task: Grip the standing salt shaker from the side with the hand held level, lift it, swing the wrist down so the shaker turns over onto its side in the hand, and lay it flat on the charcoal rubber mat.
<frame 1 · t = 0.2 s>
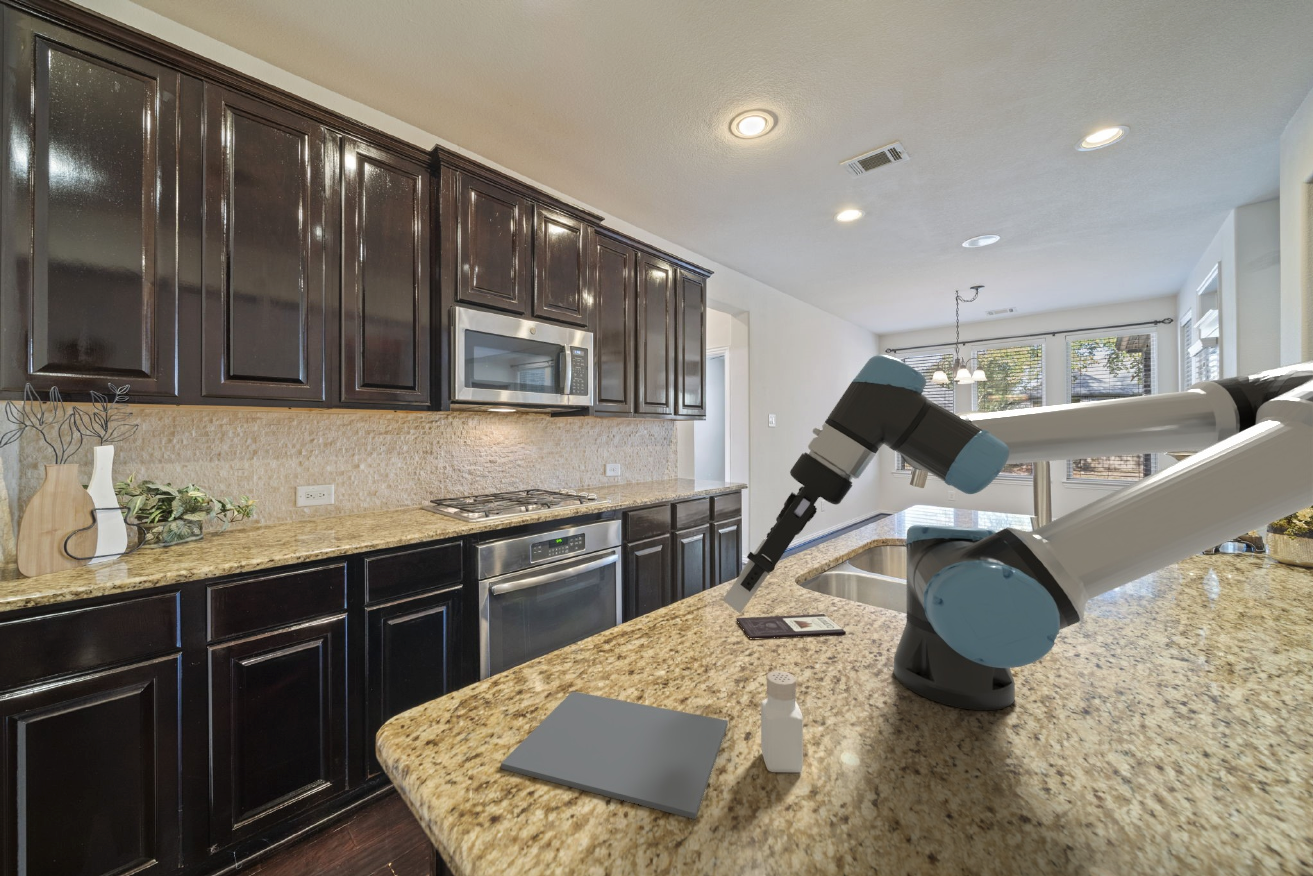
hand: (740, 590, 68), 15 cm above the countertop, tool tilted 35°, fingers open, 13 cm apart
chocolate bar: (789, 630, 93), on the countertop
salt shaker: (781, 764, 55), on the countertop
rubber mat: (622, 745, 58), on the countertop
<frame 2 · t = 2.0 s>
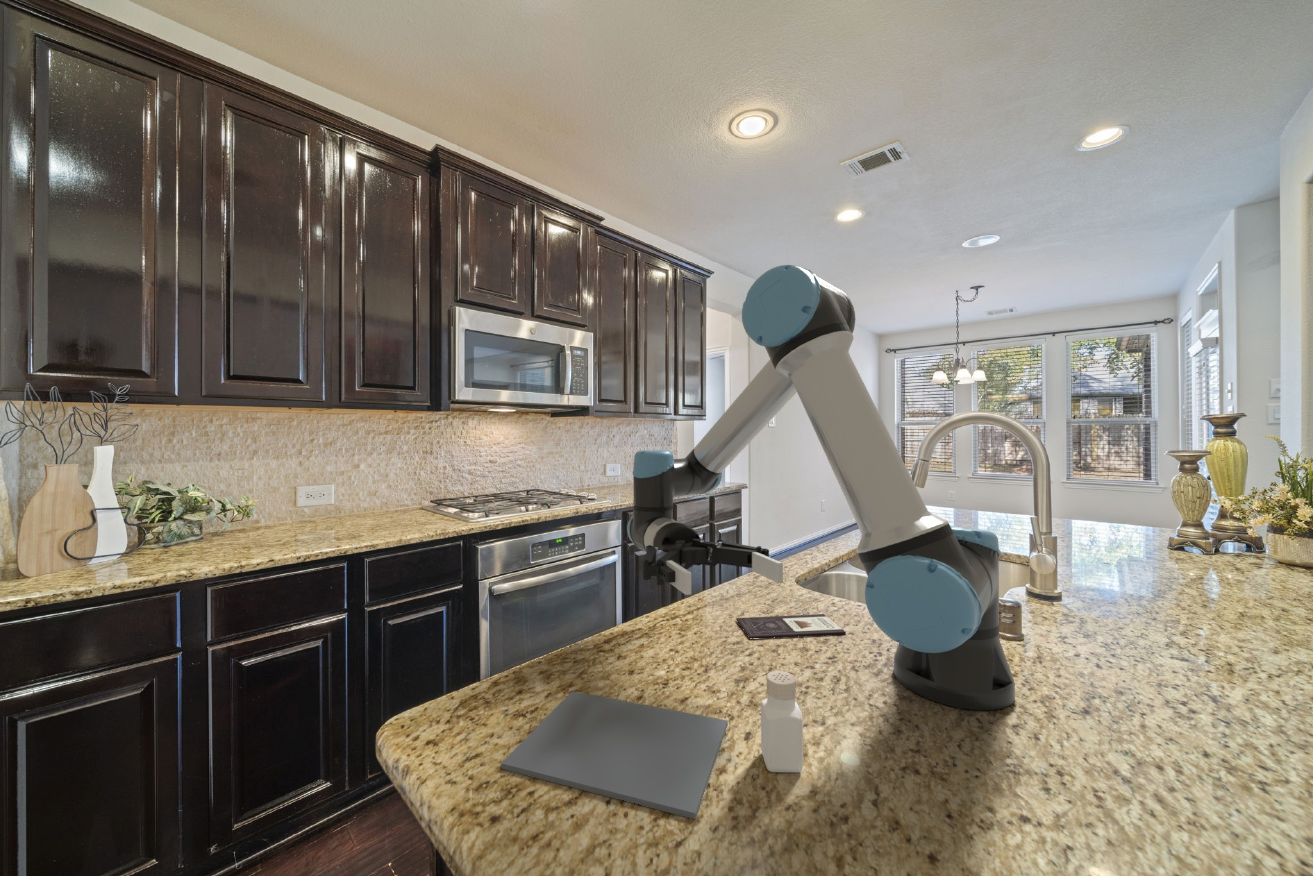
hand: (736, 578, 64), 18 cm above the countertop, tool horizontal, fingers open, 13 cm apart
nothing on the countertop moved.
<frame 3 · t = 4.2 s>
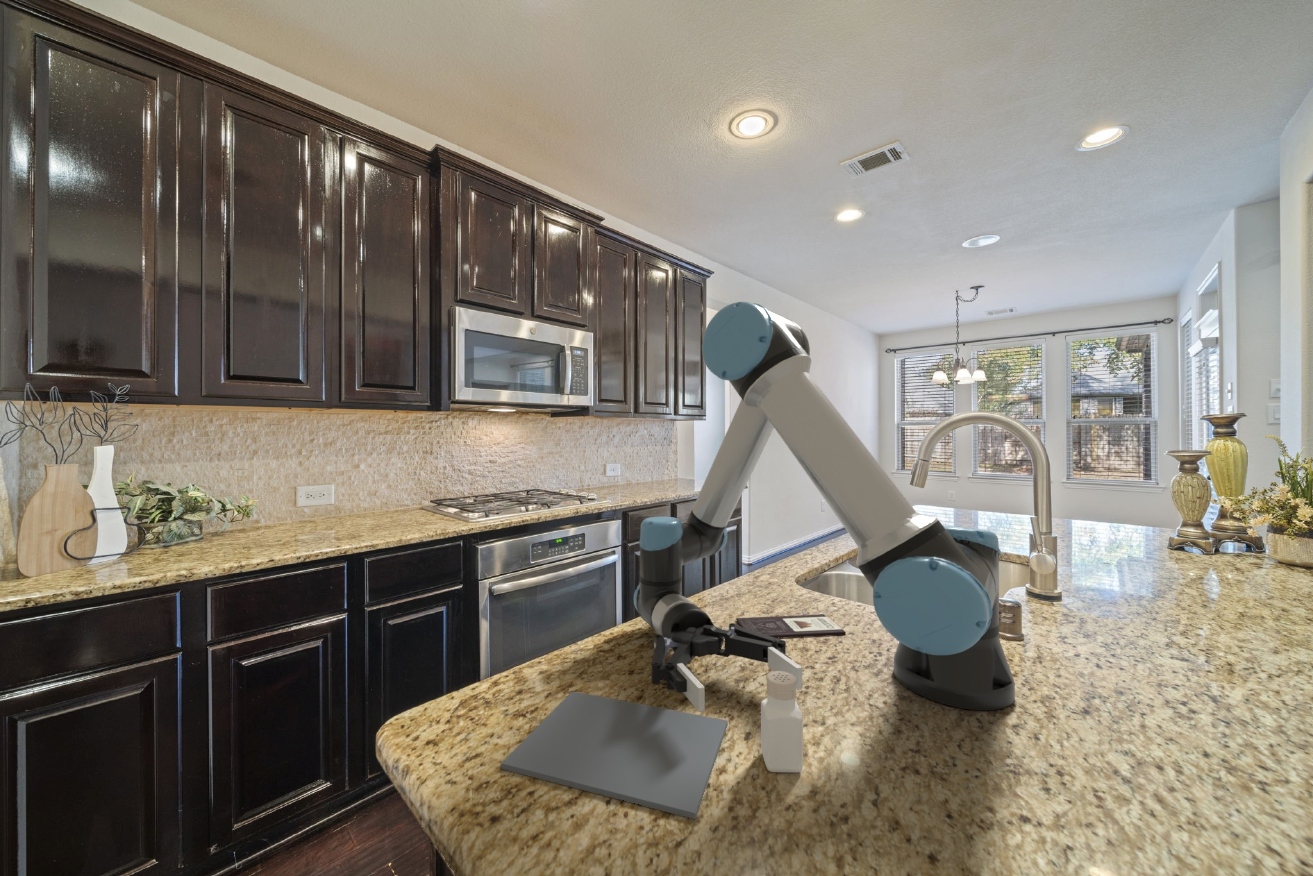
hand: (752, 688, 59), 6 cm above the countertop, tool horizontal, fingers open, 13 cm apart
nothing on the countertop moved.
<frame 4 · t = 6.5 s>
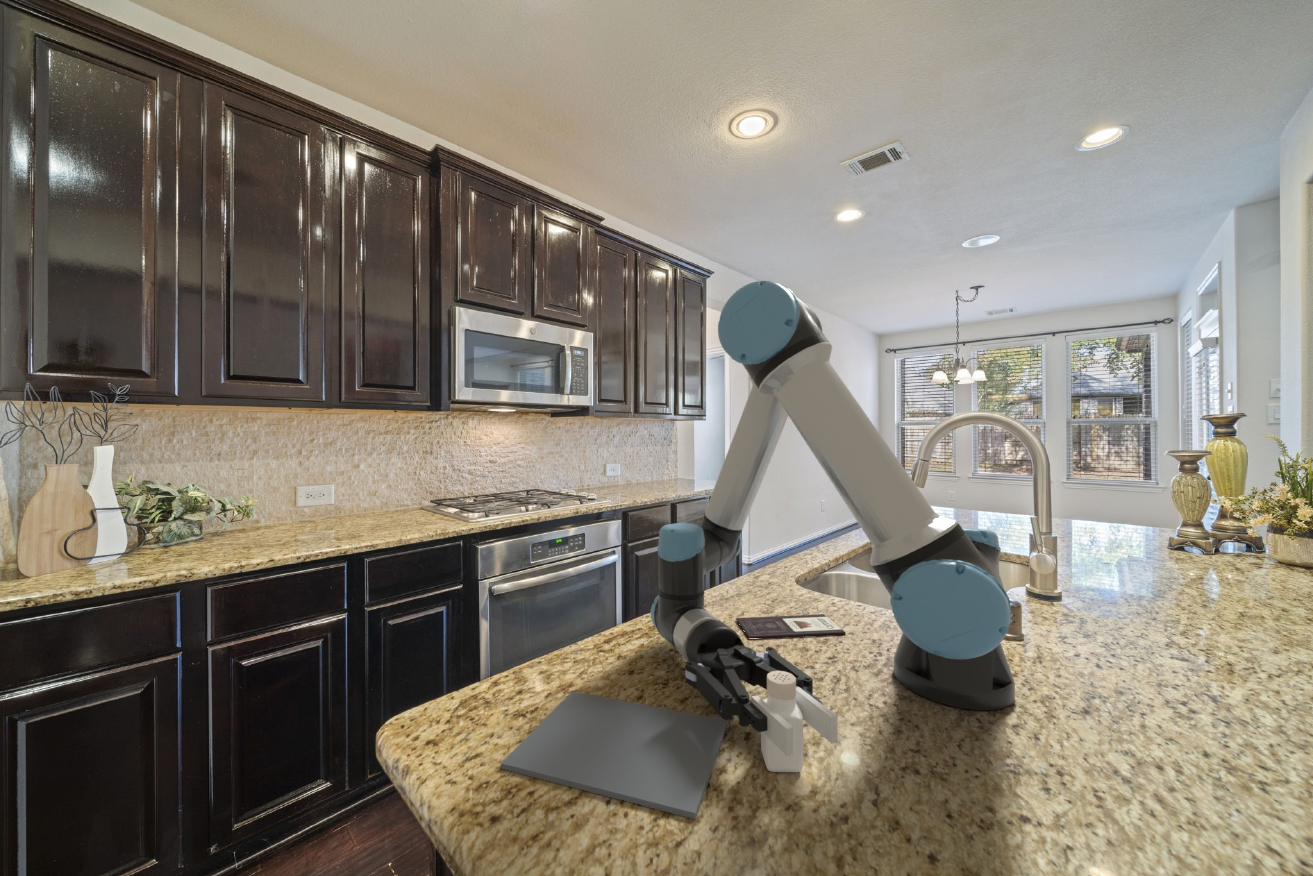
hand: (812, 735, 50), 6 cm above the countertop, tool horizontal, fingers closed on salt shaker, 5 cm apart
salt shaker: (781, 764, 54), on the countertop, touching gripper
everything else where it was.
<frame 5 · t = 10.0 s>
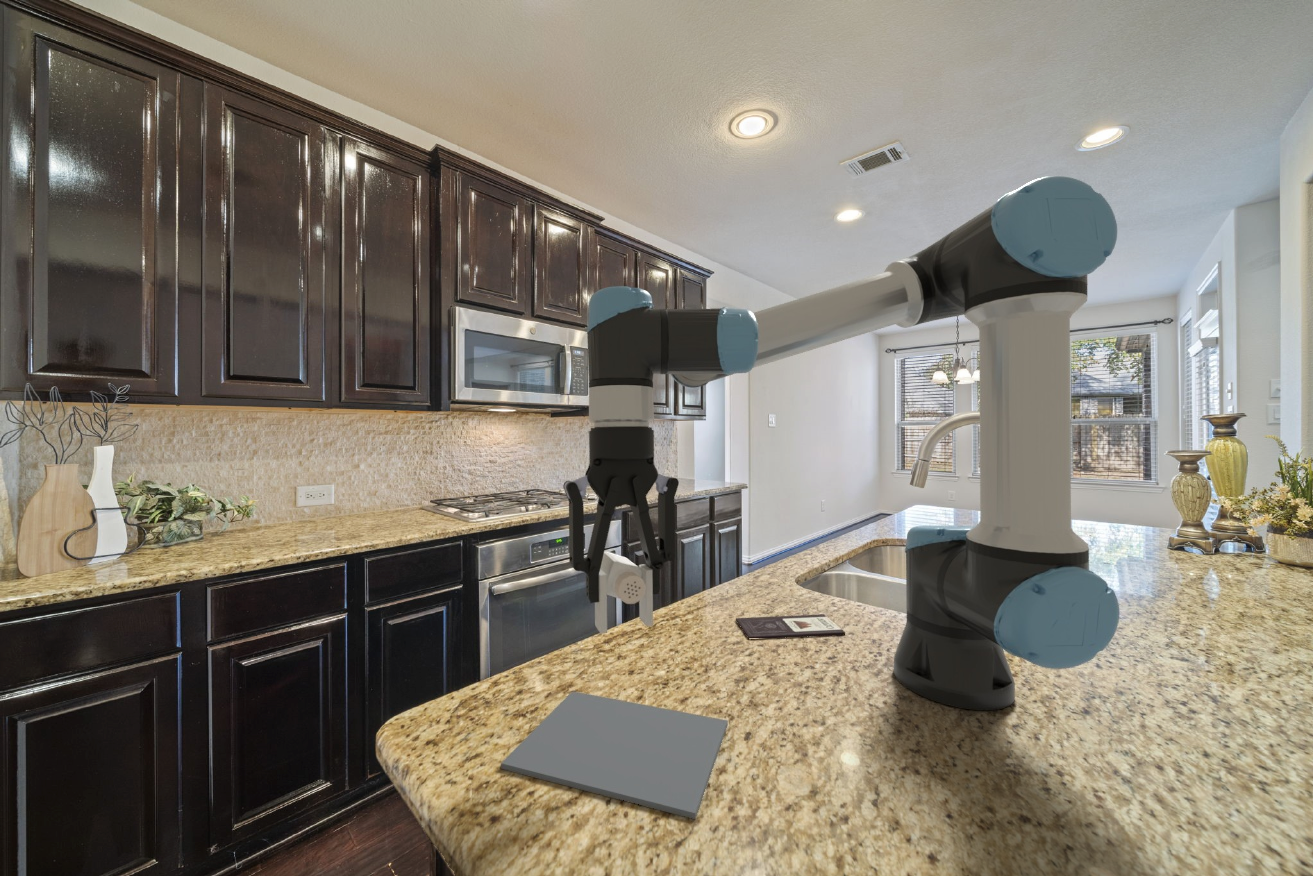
hand: (624, 625, 57), 14 cm above the countertop, tool pointing down, fingers closed on salt shaker, 5 cm apart
salt shaker: (609, 568, 63), point 19 cm above the countertop, touching gripper
everything else where it was.
when the fingers open (1 cm above the countertop, at t = 12.9 s): salt shaker drops 4 cm, resting on rubber mat.
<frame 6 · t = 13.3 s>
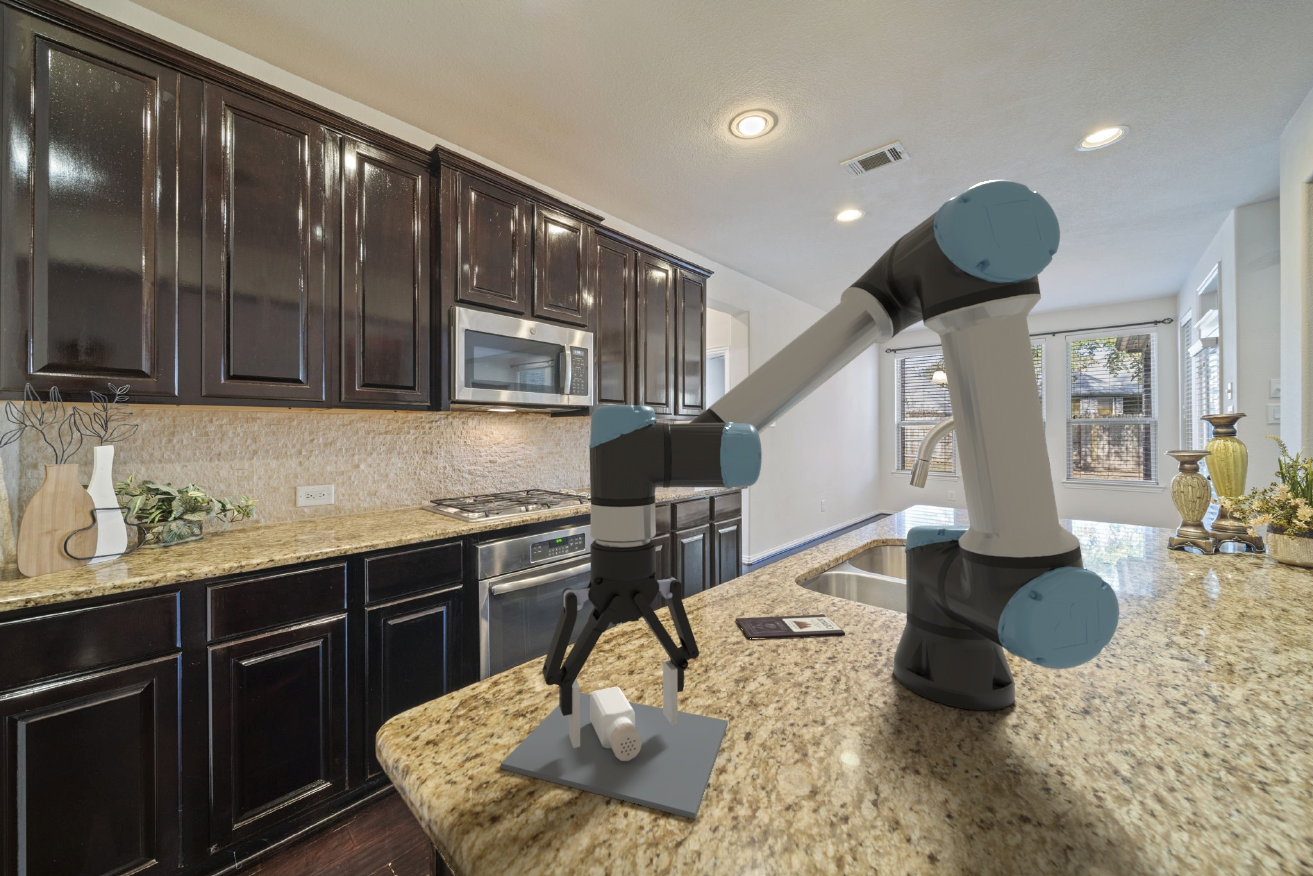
hand: (624, 729, 57), 2 cm above the countertop, tool pointing down, fingers open, 11 cm apart
salt shaker: (603, 701, 62), point 3 cm above the countertop, touching rubber mat
everything else where it was.
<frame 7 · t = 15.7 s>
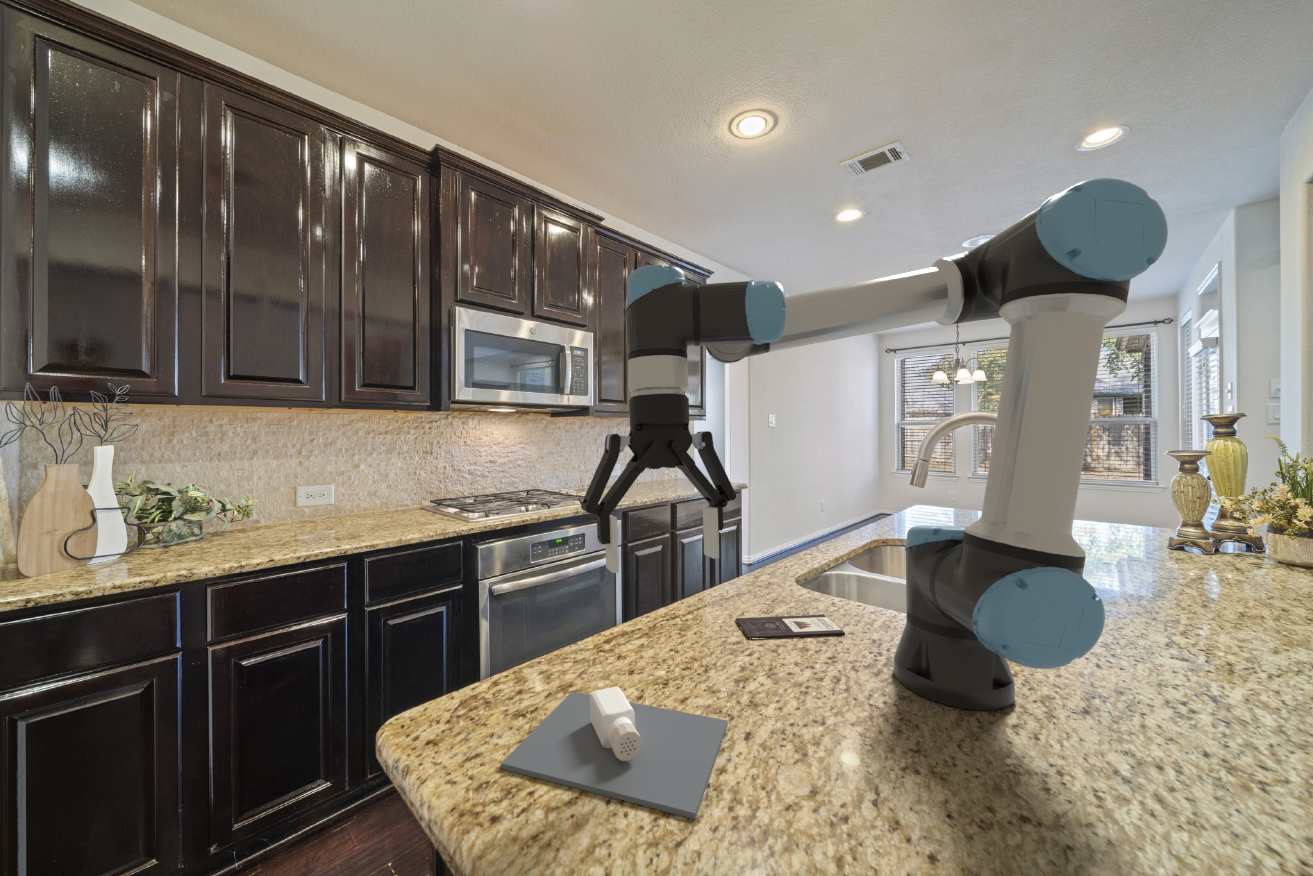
hand: (664, 563, 62), 20 cm above the countertop, tool pointing down, fingers open, 13 cm apart
nothing on the countertop moved.
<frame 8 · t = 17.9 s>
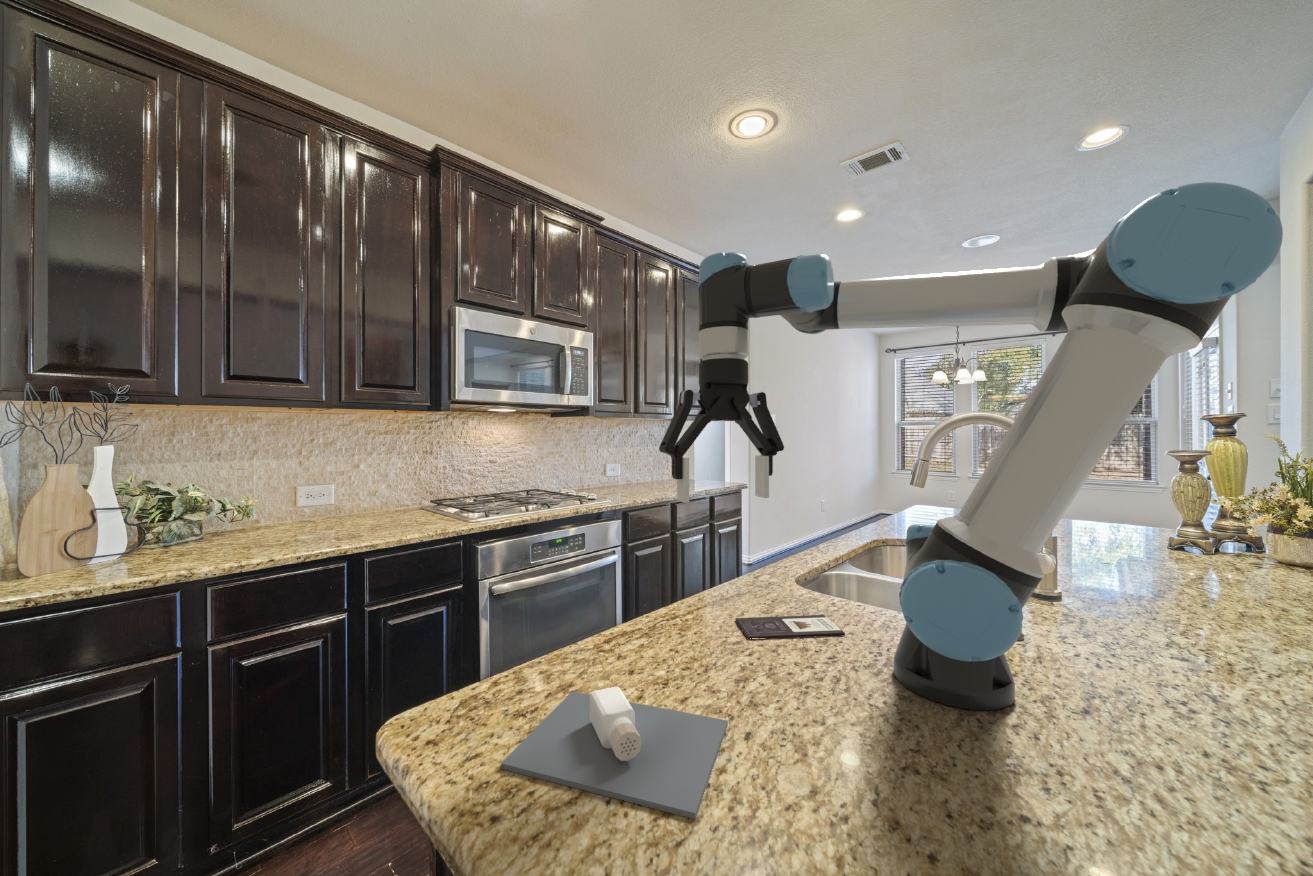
hand: (723, 499, 75), 27 cm above the countertop, tool pointing down, fingers open, 13 cm apart
nothing on the countertop moved.
at the end: salt shaker tilted 90°; salt shaker inside the target area on the rubber mat (5.4 cm from its centre), point 2.6 cm above the rubber mat's base; the gripper is holding nothing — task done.
